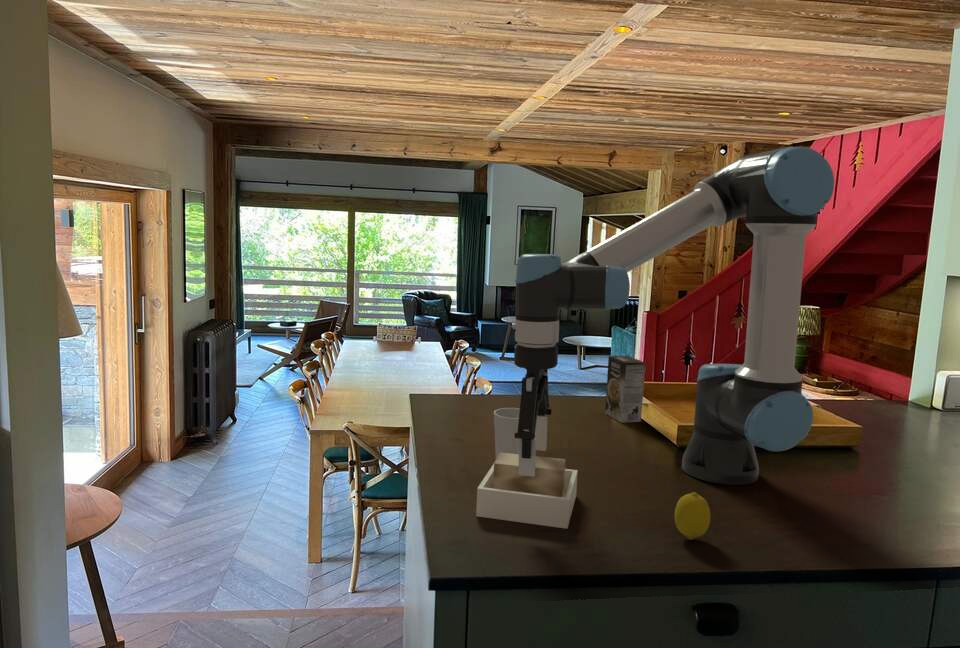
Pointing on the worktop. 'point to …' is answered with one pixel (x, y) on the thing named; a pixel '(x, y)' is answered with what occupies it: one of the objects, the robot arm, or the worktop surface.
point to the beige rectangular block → (543, 482)
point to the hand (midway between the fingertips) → (533, 461)
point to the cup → (506, 430)
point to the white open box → (527, 503)
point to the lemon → (692, 515)
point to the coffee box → (625, 388)
